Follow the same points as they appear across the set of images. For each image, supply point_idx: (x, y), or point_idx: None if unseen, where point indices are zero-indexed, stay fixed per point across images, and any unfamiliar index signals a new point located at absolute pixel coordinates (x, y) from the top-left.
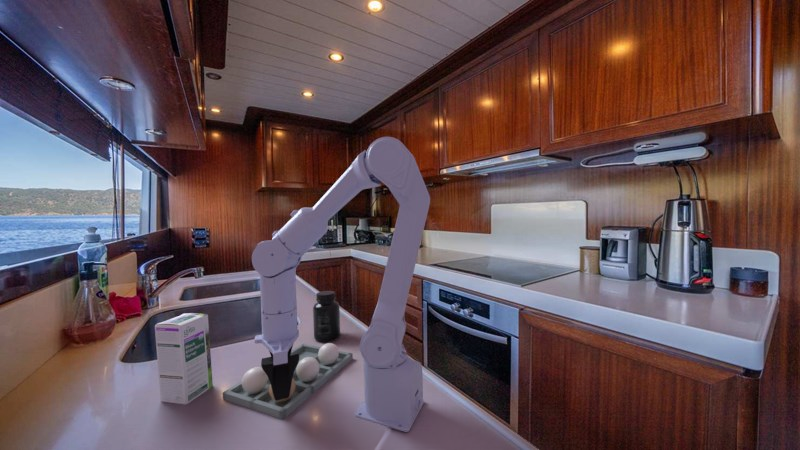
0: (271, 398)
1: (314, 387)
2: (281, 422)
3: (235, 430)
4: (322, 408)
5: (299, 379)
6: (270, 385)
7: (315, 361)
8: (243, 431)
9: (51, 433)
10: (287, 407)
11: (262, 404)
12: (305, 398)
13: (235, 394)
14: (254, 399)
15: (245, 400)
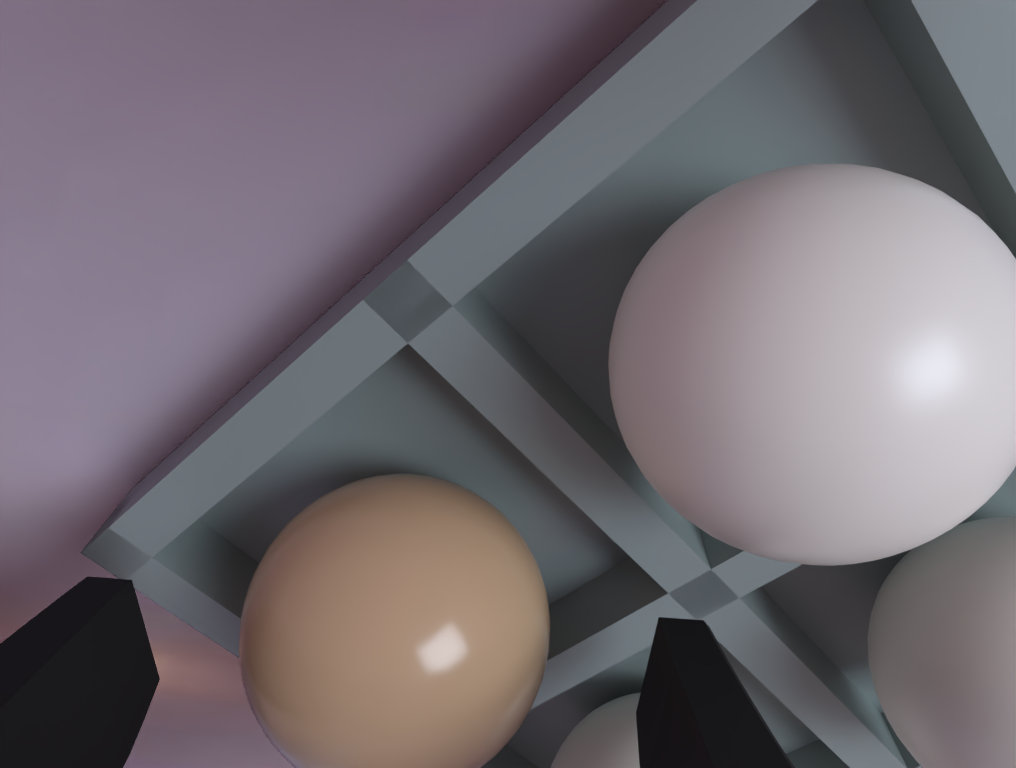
0: (347, 484)
1: None
2: (129, 475)
3: (102, 75)
4: (224, 712)
5: None
6: (356, 583)
7: None
8: (68, 163)
9: None
10: (142, 588)
11: (272, 397)
12: None
13: (700, 55)
14: (423, 316)
15: (462, 207)
